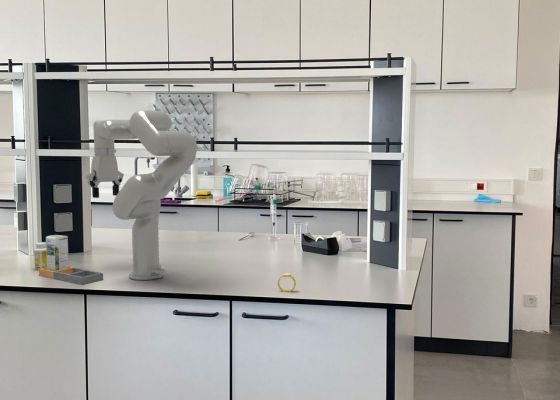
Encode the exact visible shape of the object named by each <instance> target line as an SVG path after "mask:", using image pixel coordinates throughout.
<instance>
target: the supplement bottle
mask: <svg viewBox="0 0 560 400" xmlns="http://www.w3.org/2000/svg"><path fill="white" fill-rule="evenodd" d="M33 253H34V269H35V270H36V271H39V269H40V268H45V267H47V252H46V241H44V242H43V241H42V242H36V243H35V248H34V250H33Z"/></svg>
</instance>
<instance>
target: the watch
mask: <svg viewBox="0 0 560 400" xmlns="http://www.w3.org/2000/svg"><path fill="white" fill-rule="evenodd" d="M283 278H291V279H292V281H293V288H291V289H283V288H282V287H281V285H280V282H281V281H280V280H281V279H283ZM296 285H297V282H296V279H295V278H294V276H293V275H291V273H288V272H287V273H286V272H285V273H282V275H281V276H280V277H279V278H278V280H277V287H278V290H280V291H281V292H284V293H286V292H287V293H288V292H289V293H291V292H292V291H294V290H295V288H296Z"/></svg>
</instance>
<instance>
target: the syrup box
mask: <svg viewBox="0 0 560 400" xmlns="http://www.w3.org/2000/svg"><path fill="white" fill-rule="evenodd" d="M68 238H69V236H68V235H59V234H54V235H53V234H52V235H48V236H45V243H46V252H47V270H51V271H57V270H62V269H67V268H69V267H70V265H69V242H68V241H69V240H68Z"/></svg>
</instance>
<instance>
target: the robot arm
mask: <svg viewBox="0 0 560 400" xmlns="http://www.w3.org/2000/svg"><path fill="white" fill-rule="evenodd" d="M172 122H173V121H172V118H171V116H170V115H169V114H168V113H167V112H165V111H163V110H162V111H161V110H148V109H147V110H146V109H141V110H140V109H139V110H137V111H135V112H133V113H132V114H131V116H130V118H129V119H104V120H95V121H94V122H93V145H94V147H93V150H94V155H93V156H92V159H91V166H90V167H91V168H90V173H88V175H86V176H85V179H86V181H87V183H88V185H89V186H90V188H91V193H92V198H94V199H99V198H100V188H99V185H100V183H108V182H109V183H110V182H111V183H112V196H115V197H114V199H113V201H112V202H113V203H112V212H113V215H114V216H115V217H116V218H118V219H119V220H122V221H124V220H125V221H127V220H128V221H129V220H134V222H133V225H132V229H131V240H132V241H131V243H132V244H131V245H132V272H129V273H128V278H129V279H131V280H137V281H148V280H157V279H161V278H162V277H164V275H165V274H164V273H166V269H165V268H162V264H161V263H160V250H159V249H160V245H159V243H160V242H159V239H160V237H159V234H160V233H159V222H160V221H159V219H160V214H161V213H160V212H161V208H162V207H161V206H162V205H161V200H162V199H163V200H164V199H165V198H166V197H167V196H168V195H169V194H170V192H171V191H172V189H174V187H175V186H176V184H177V183H179V182H178V181H179V180H180V179H181V178H182V177H183V176H184V174H185V173H187V171H188V170H189V169H190V168H191V166H192V165H193V164H194V162H195V160H196V157H197V152H198V145H197V140H196V138H195V136H194V135H193V134H191V133H190V132H187V131H183V130H171V128H172ZM136 139H138V141H139V142H140V143H141V144H142V146H143V147H144V148H145V150H147V152H149V154H151V155H153V156H155V157H167V156H168V157H167V158H165V159H164V160H163V161H162V162H160V163H159V165H158V166H157V168H156V169H155V170H153V171H152V172H149V173H140V174H135V175H132V176H130V177H129V178H128V179H127V180H126V181H125V183H124V184H123V185H122V187H121V189H120V186H121V184H122V182H123V178H124V176H125V174H124V173H123V172H121V171H119V166H118V160H117V156H116V155H115V154H116V153H117V150H116V149H115V140H136Z"/></svg>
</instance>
